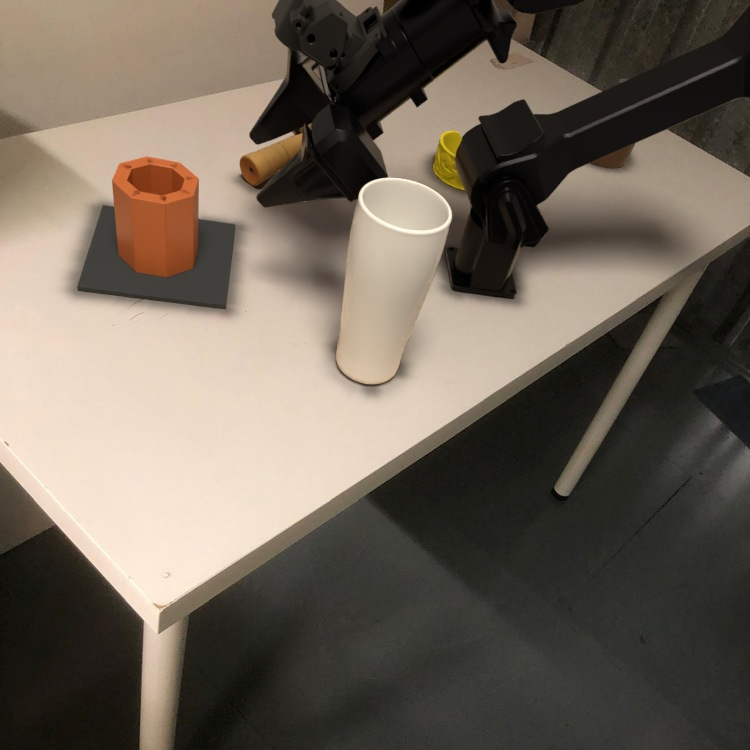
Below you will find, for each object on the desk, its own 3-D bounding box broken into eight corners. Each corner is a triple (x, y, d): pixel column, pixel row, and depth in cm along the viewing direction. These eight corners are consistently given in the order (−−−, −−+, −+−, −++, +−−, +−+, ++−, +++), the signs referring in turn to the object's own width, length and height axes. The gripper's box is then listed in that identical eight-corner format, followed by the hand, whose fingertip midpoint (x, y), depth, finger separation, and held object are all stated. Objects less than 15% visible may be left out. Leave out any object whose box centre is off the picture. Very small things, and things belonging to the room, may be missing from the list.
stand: (633, 172, 94) (666, 104, 87) (576, 162, 93) (606, 92, 86) (618, 141, 99) (649, 74, 92) (564, 131, 97) (592, 63, 91)
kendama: (282, 218, 75) (396, 147, 84) (273, 156, 71) (396, 88, 79) (230, 193, 79) (345, 127, 87) (218, 132, 74) (342, 69, 82)
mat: (225, 309, 64) (225, 305, 63) (77, 290, 61) (76, 286, 61) (235, 227, 71) (235, 224, 71) (103, 208, 69) (102, 204, 68)
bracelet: (509, 193, 85) (519, 166, 82) (445, 192, 82) (453, 164, 80) (486, 158, 89) (495, 131, 86) (424, 156, 86) (431, 127, 84)
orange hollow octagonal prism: (168, 224, 69) (166, 150, 63) (211, 262, 66) (212, 189, 61) (106, 244, 65) (98, 168, 60) (148, 284, 63) (144, 210, 58)
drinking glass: (357, 327, 66) (393, 165, 54) (420, 366, 64) (471, 209, 52) (309, 363, 62) (337, 197, 50) (375, 406, 60) (420, 246, 48)
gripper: (333, -107, 55) (182, 34, 61) (372, 3, 45) (185, 161, 51) (412, 23, 63) (271, 137, 69) (460, 142, 53) (290, 264, 59)
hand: (256, 169), depth 62 cm, fingers open, 9 cm apart
